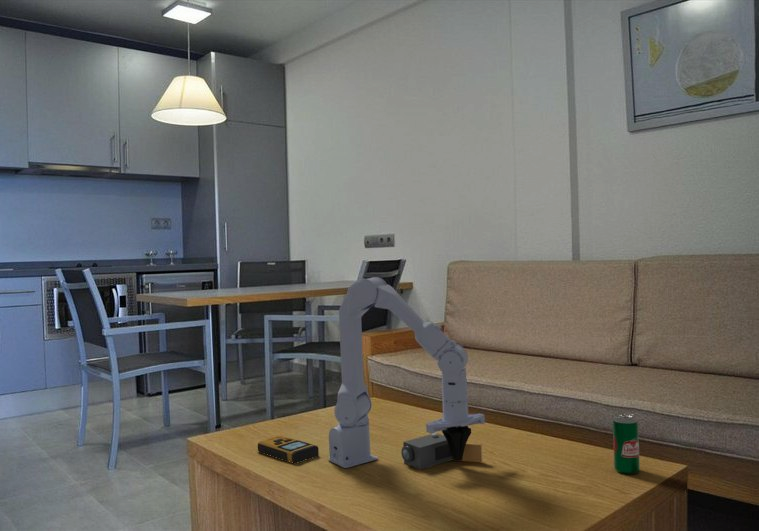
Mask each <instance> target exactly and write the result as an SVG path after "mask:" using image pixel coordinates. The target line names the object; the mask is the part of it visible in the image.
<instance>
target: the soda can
mask: <svg viewBox="0 0 759 531" xmlns="http://www.w3.org/2000/svg"><path fill="white" fill-rule="evenodd" d="M613 416H614V417H613V419H612V437H613V438H612V439H613V441H612V442H613V463H614V464H613V465H614V469H615V470H616V472H618V473H619V474H622V475H635V474H637V473H638V472H639V471H640V470H641V467H640V466H641V465H640V464H641V463H640V444H639V442H640V441H639V440H640V439H639V421H638V419H637V416H636V415H635V414H632V413H626V412H625V413H623V412H621V413H620V412H619V413H616V414H614V415H613Z"/></svg>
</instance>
